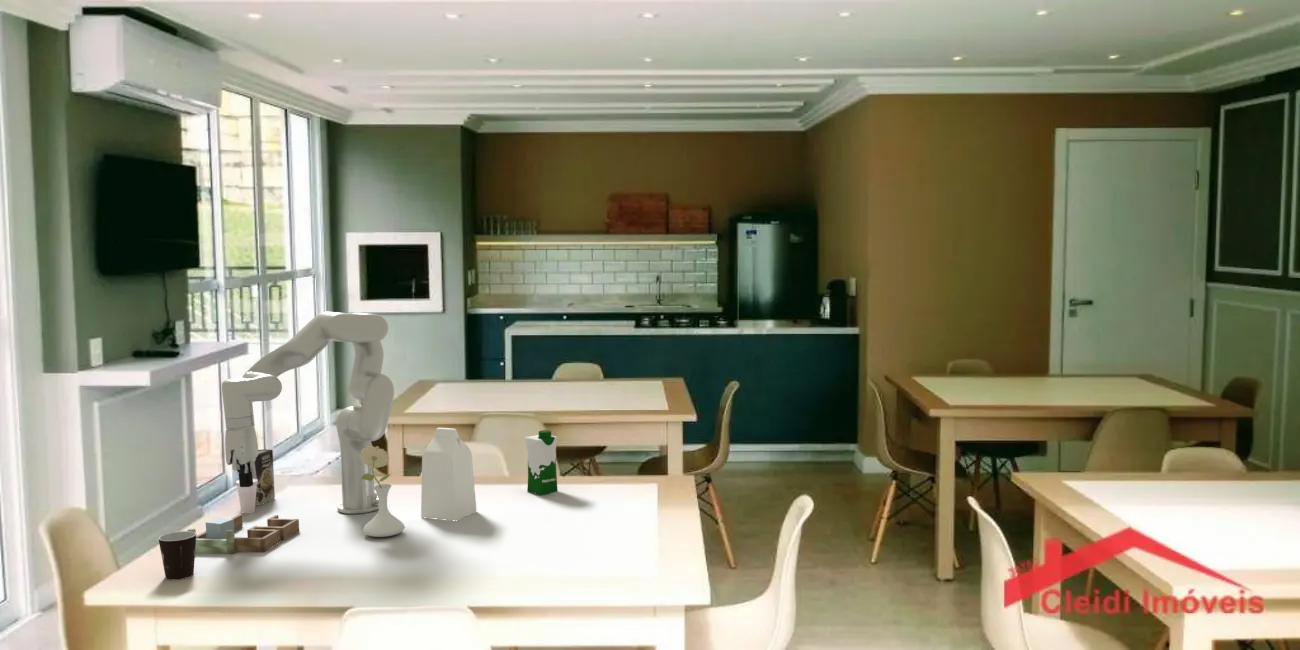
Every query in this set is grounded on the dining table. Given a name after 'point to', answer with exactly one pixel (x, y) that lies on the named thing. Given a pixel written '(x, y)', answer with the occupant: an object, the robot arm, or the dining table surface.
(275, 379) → the robot arm
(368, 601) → the dining table surface
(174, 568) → the coffee mug
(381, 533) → the flower in vase
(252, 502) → the smoothie
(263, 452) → the coffee box
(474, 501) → the milk
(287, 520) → the brown open tray piece
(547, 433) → the milk carton
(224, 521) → the block
